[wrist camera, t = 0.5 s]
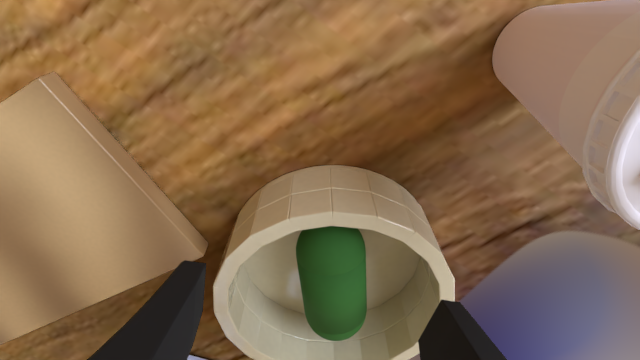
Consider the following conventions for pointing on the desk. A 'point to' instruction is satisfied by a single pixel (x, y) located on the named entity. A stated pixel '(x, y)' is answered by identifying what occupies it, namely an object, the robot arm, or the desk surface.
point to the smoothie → (583, 89)
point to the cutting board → (75, 212)
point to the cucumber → (333, 280)
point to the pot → (283, 277)
